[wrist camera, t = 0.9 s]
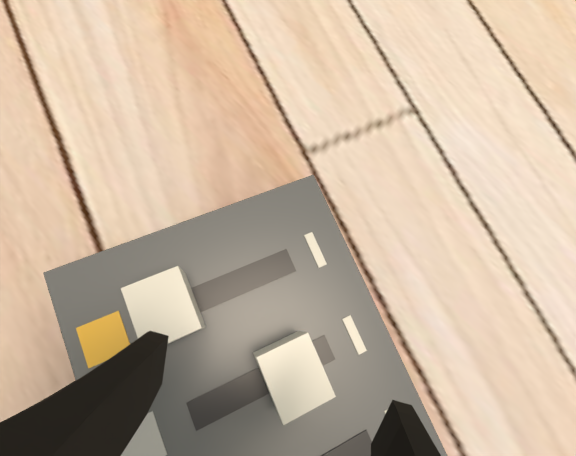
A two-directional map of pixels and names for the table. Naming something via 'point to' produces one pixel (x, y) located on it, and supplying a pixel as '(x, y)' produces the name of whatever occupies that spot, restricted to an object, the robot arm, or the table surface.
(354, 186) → the table surface
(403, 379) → the switch panel
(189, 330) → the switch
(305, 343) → the middle switch
